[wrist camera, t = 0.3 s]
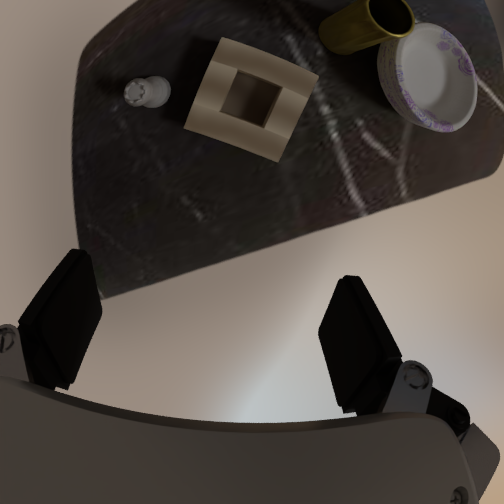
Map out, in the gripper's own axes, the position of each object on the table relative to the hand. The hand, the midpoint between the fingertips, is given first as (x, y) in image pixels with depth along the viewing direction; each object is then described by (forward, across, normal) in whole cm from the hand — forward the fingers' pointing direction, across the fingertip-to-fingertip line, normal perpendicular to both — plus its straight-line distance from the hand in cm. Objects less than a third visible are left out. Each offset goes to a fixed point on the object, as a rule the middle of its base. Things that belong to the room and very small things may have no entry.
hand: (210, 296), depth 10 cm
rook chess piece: (+30, +11, -7) cm, 32 cm away
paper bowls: (+29, -24, -17) cm, 41 cm away
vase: (+29, -12, -19) cm, 37 cm away
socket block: (+29, -2, -7) cm, 30 cm away
